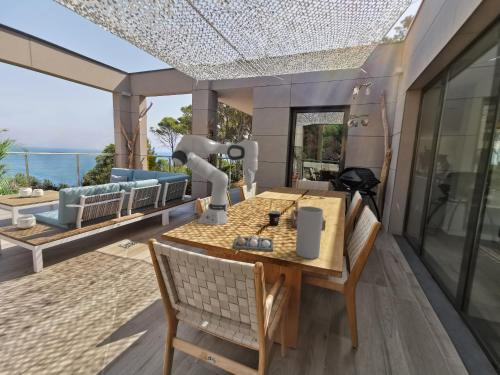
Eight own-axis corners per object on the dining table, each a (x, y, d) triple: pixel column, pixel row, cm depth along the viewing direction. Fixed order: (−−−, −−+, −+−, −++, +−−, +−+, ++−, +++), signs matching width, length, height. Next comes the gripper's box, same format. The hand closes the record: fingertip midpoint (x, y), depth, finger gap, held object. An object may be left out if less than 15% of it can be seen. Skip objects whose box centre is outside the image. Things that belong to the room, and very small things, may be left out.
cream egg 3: (261, 249, 123) (261, 241, 123) (261, 245, 128) (262, 238, 127) (269, 249, 123) (270, 242, 122) (269, 246, 127) (270, 238, 127)
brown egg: (244, 245, 124) (245, 237, 125) (236, 245, 124) (237, 236, 126) (245, 246, 128) (246, 238, 130) (237, 245, 129) (238, 237, 130)
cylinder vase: (323, 258, 116) (327, 212, 112) (300, 259, 114) (304, 212, 110) (312, 248, 128) (316, 206, 124) (292, 249, 126) (295, 206, 122)
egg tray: (233, 249, 123) (233, 246, 123) (237, 239, 138) (237, 236, 138) (273, 252, 121) (273, 249, 121) (272, 241, 136) (272, 238, 136)
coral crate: (293, 228, 162) (294, 218, 161) (290, 218, 187) (291, 210, 186) (324, 230, 160) (325, 220, 159) (317, 219, 185) (318, 211, 184)
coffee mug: (279, 223, 172) (280, 211, 170) (279, 227, 163) (280, 214, 162) (264, 222, 173) (264, 210, 171) (263, 226, 164) (264, 213, 163)
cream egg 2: (249, 248, 124) (249, 240, 123) (249, 245, 128) (250, 237, 128) (257, 249, 123) (257, 241, 123) (257, 245, 128) (258, 238, 127)
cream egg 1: (250, 243, 131) (250, 236, 130) (250, 240, 135) (251, 233, 135) (258, 244, 130) (258, 236, 130) (258, 240, 135) (258, 233, 134)
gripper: (254, 168, 120) (253, 193, 122) (256, 166, 140) (255, 187, 143) (242, 167, 121) (241, 193, 123) (246, 165, 141) (246, 187, 143)
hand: (249, 190), depth 133 cm, fingers open, 8 cm apart
